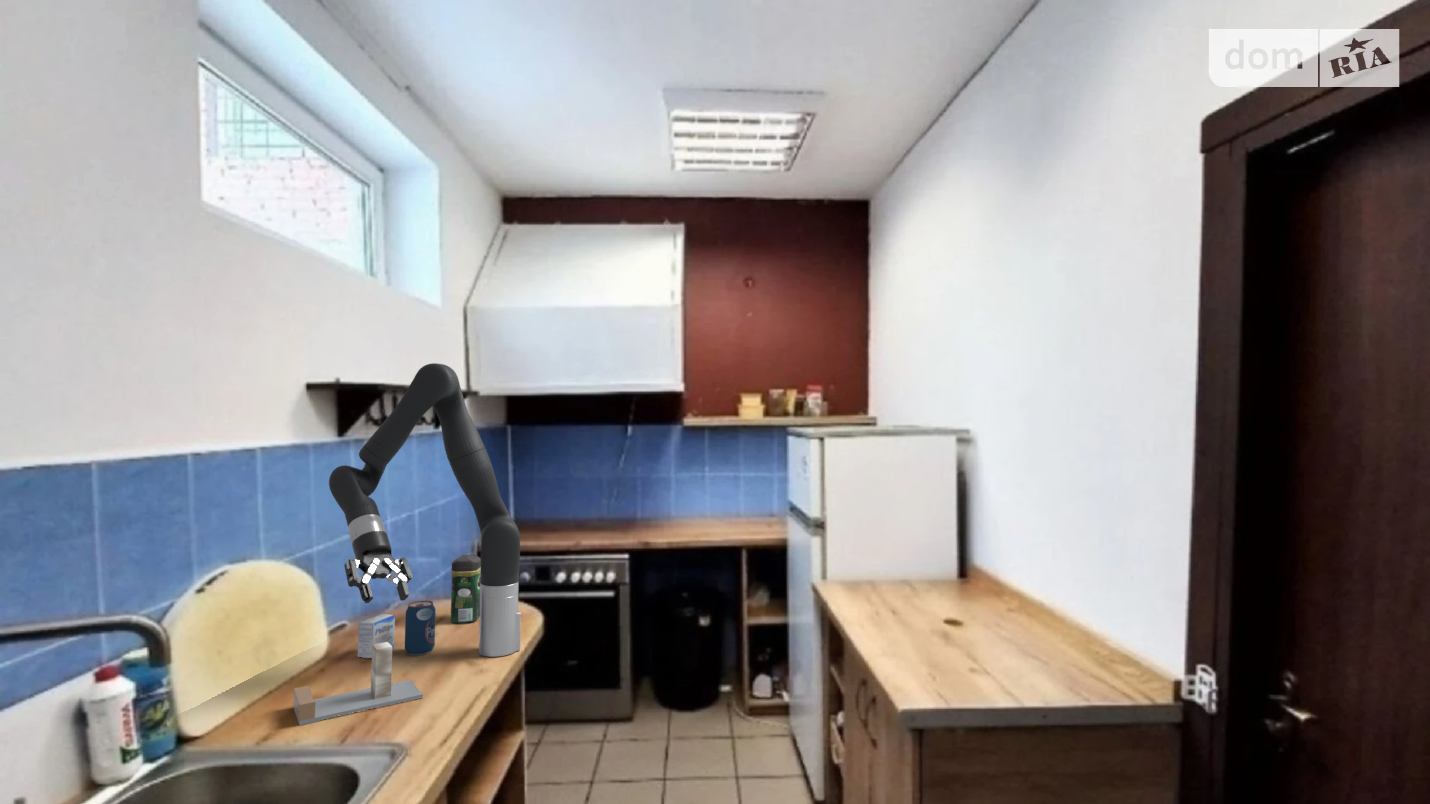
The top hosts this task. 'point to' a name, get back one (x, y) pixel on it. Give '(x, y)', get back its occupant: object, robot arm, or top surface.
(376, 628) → the medicine box
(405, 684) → the underlay board
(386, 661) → the beige long rectangular block
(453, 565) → the coffee jar
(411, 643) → the soda can
